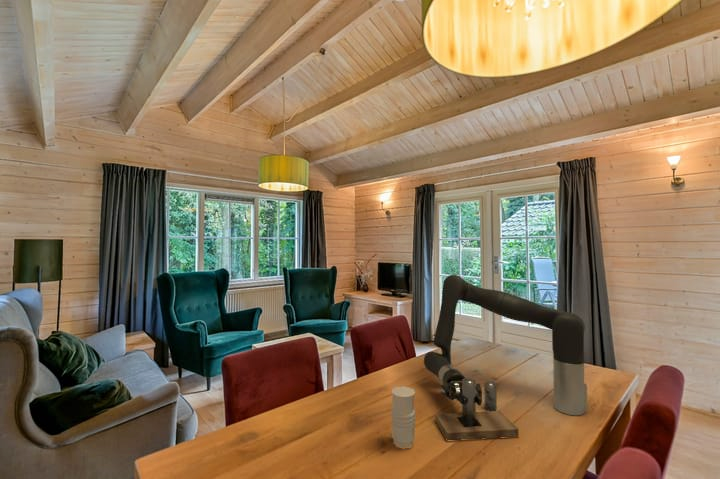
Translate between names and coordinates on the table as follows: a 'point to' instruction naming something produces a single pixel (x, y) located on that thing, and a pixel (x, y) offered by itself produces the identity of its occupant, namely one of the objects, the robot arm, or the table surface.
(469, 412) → the tall pin
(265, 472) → the table surface
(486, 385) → the short pin
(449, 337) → the robot arm
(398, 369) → the table surface
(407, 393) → the white ribbed cylinder
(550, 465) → the table surface
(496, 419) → the hole plate
